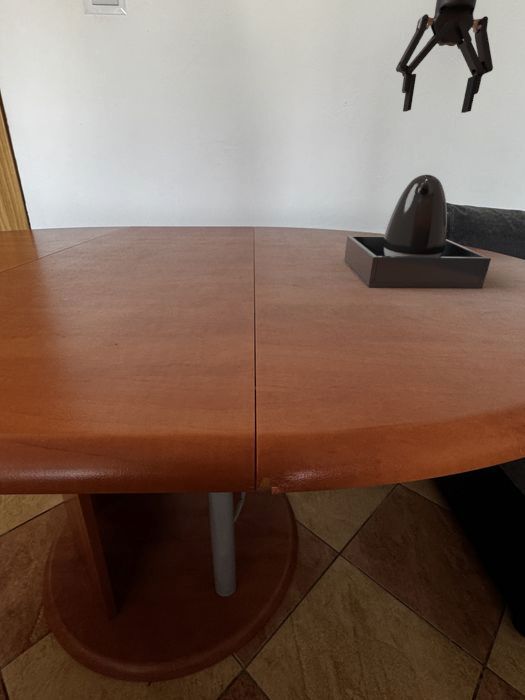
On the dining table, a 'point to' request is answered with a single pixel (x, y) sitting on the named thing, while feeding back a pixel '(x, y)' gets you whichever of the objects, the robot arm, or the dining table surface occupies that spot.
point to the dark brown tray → (415, 266)
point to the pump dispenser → (418, 220)
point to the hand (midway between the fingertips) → (436, 111)
